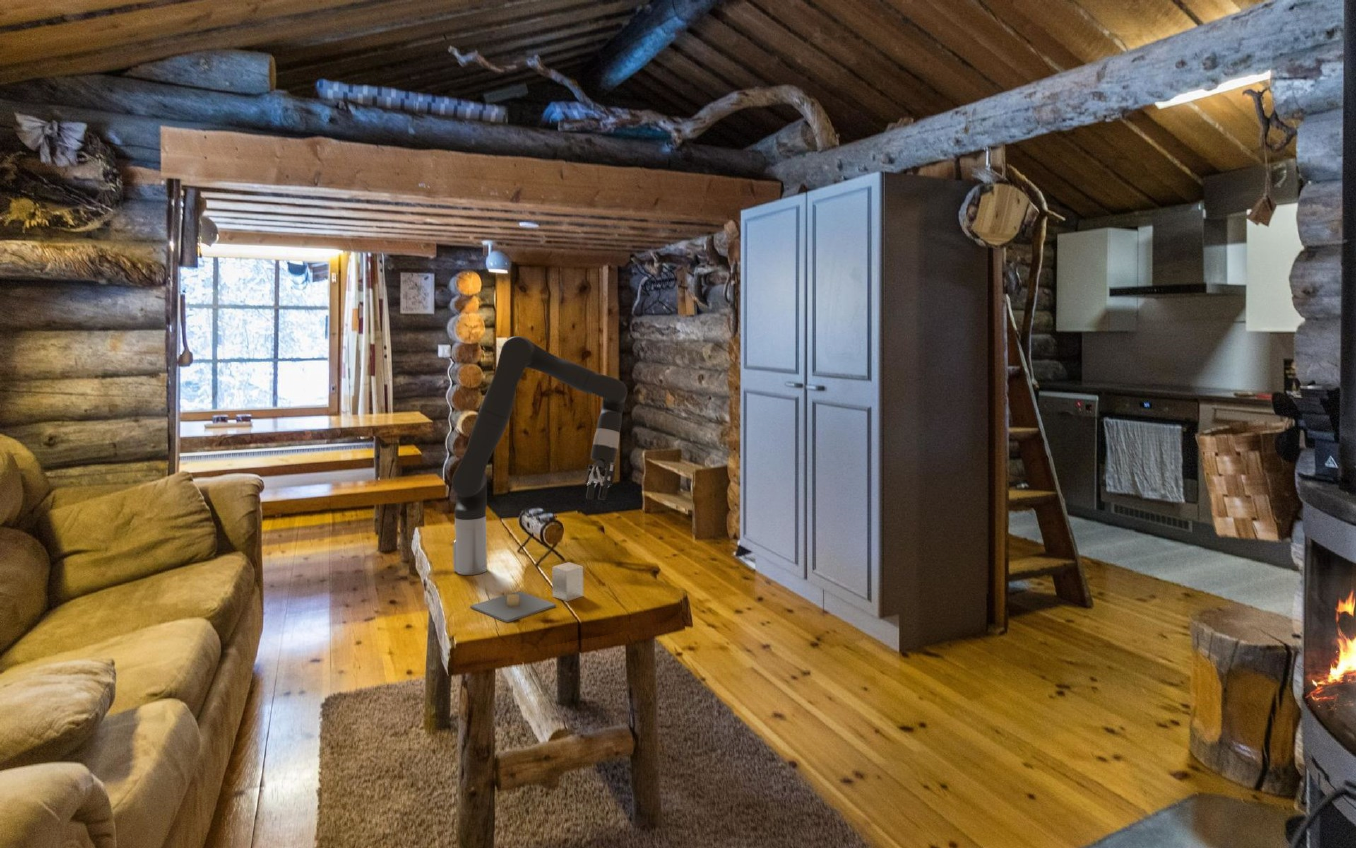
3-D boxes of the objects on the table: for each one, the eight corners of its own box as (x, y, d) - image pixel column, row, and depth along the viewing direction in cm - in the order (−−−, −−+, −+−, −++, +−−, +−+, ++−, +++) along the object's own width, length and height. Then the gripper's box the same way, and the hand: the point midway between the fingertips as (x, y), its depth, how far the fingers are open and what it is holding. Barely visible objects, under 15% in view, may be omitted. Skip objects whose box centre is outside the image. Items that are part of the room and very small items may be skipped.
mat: (470, 607, 205) (470, 596, 205) (519, 593, 217) (519, 582, 217) (506, 622, 195) (506, 610, 194) (555, 606, 206) (555, 595, 206)
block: (552, 596, 214) (552, 566, 213) (569, 591, 219) (568, 562, 218) (566, 601, 210) (566, 571, 210) (583, 596, 215) (583, 566, 214)
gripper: (584, 444, 234) (574, 496, 231) (604, 442, 222) (594, 497, 219) (606, 449, 238) (596, 501, 235) (627, 447, 226) (617, 502, 223)
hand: (595, 499), depth 227 cm, fingers open, 8 cm apart
